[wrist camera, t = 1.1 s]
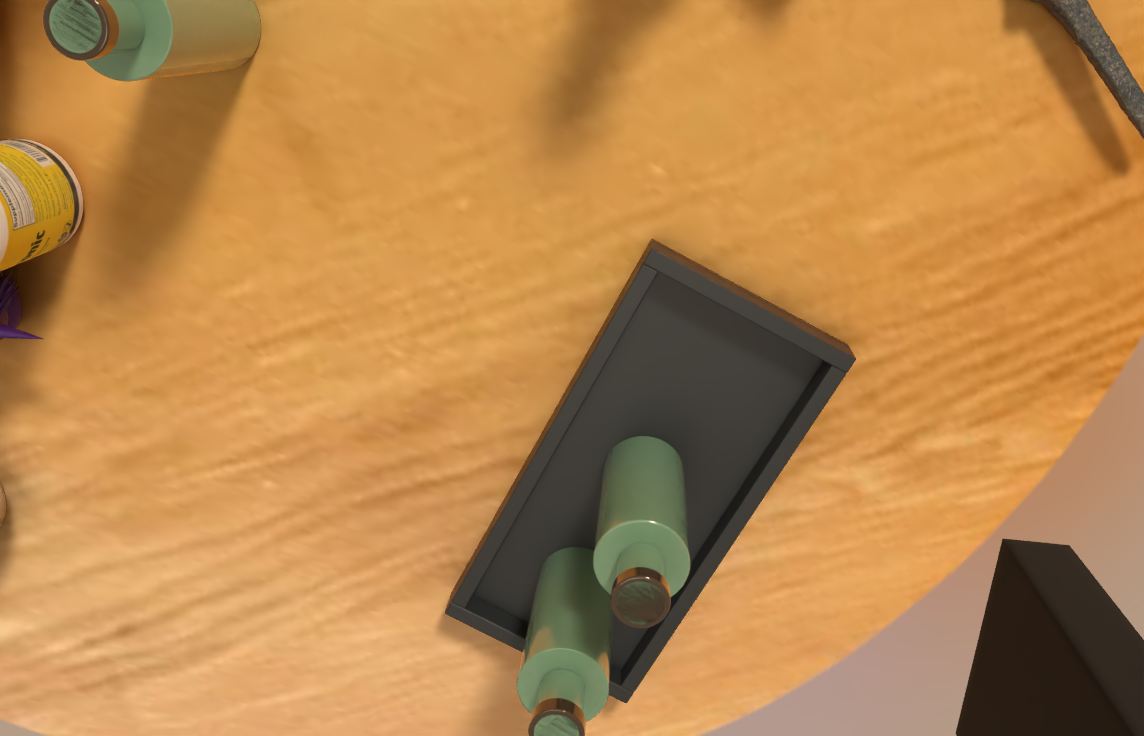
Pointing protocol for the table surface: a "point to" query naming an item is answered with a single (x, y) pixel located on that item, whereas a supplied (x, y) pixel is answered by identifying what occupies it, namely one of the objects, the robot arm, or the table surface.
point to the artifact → (1100, 55)
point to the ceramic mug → (2, 504)
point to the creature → (11, 311)
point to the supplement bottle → (35, 201)
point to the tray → (670, 413)
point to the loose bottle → (154, 35)
